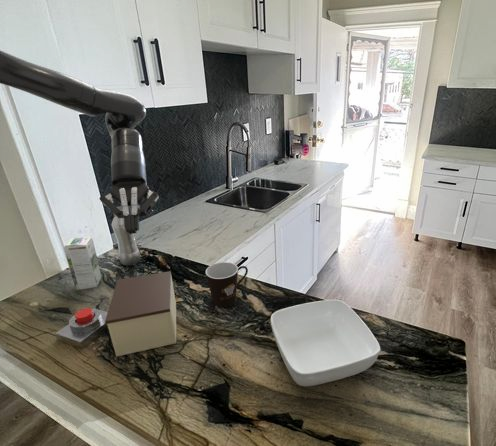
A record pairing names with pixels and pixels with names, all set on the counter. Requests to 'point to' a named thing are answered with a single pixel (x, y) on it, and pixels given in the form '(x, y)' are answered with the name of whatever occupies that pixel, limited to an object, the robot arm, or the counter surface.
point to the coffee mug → (223, 282)
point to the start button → (84, 316)
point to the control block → (83, 330)
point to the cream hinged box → (145, 331)
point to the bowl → (323, 341)
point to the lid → (140, 297)
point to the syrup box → (83, 262)
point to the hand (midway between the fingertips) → (132, 232)
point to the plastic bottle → (125, 242)
